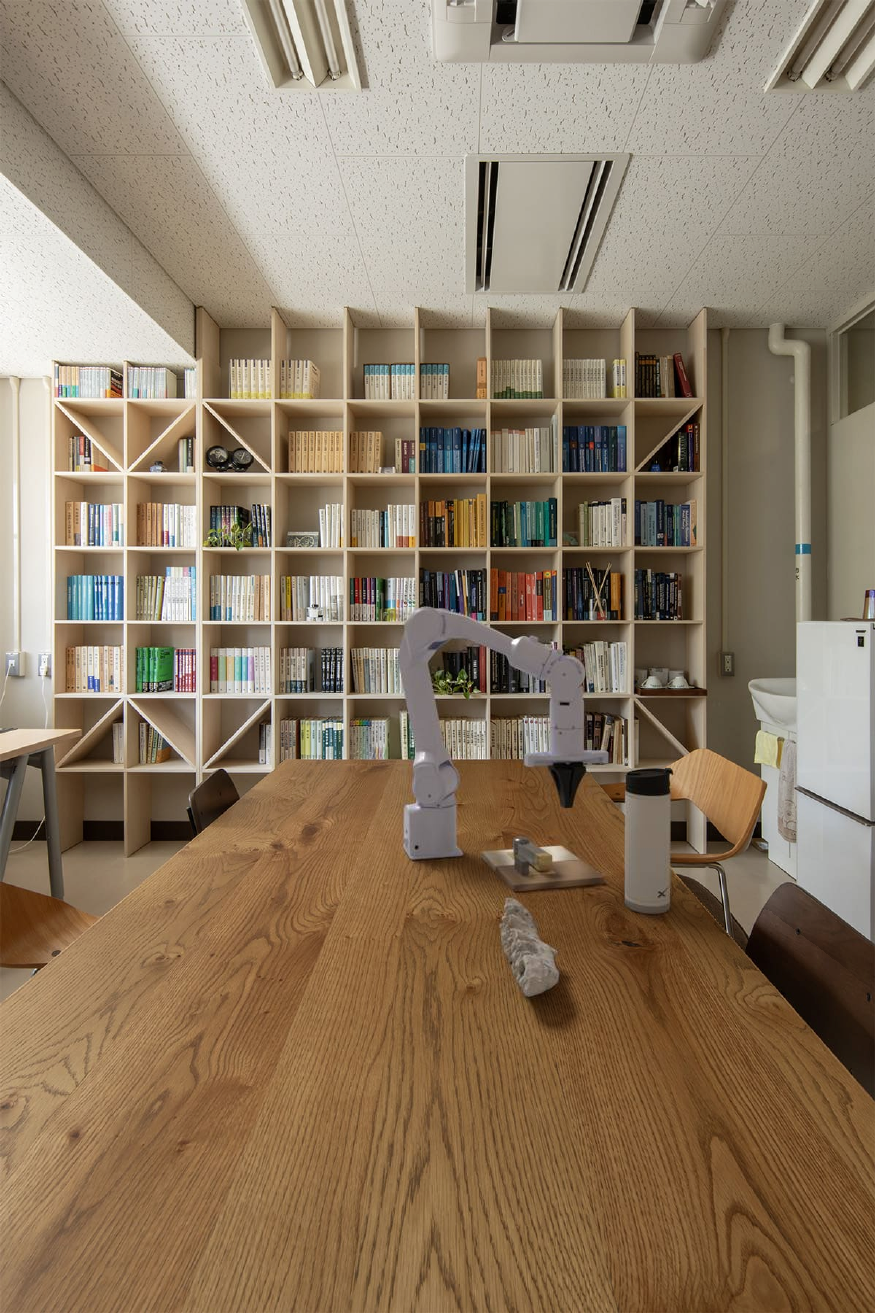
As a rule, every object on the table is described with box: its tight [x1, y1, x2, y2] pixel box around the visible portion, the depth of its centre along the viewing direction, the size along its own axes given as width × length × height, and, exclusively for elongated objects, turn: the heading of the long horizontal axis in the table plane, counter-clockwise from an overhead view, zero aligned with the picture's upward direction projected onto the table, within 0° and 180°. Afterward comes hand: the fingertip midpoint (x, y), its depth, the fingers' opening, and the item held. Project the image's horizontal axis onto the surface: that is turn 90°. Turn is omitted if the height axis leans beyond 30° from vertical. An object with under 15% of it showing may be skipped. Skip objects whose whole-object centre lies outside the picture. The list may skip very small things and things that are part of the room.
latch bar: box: [512, 836, 552, 871], centre depth 117 cm, size 10×3×3 cm, turn 18°
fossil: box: [499, 897, 560, 997], centre depth 82 cm, size 21×6×5 cm, turn 3°
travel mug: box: [624, 767, 674, 915], centre depth 101 cm, size 6×7×20 cm
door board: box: [481, 845, 605, 893], centre depth 117 cm, size 15×17×3 cm
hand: (566, 806), depth 119 cm, fingers closed
